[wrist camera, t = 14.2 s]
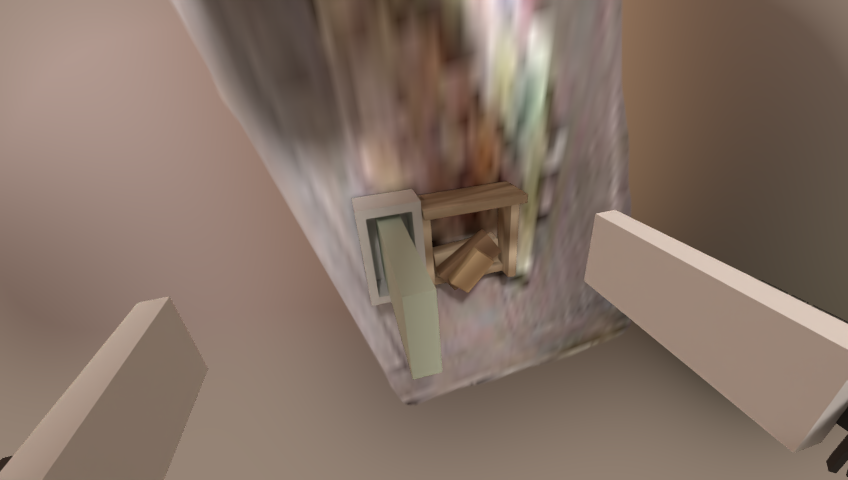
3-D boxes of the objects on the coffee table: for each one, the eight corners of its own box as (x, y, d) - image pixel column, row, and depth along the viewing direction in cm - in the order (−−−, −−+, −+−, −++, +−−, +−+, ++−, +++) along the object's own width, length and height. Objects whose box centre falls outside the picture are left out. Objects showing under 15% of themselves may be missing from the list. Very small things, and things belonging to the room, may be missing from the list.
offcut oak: (447, 277, 49) (450, 283, 48) (473, 245, 48) (477, 250, 47) (464, 287, 51) (468, 293, 49) (490, 256, 49) (494, 261, 48)
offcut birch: (429, 247, 51) (434, 255, 49) (490, 231, 53) (497, 238, 51) (433, 269, 53) (437, 277, 51) (491, 253, 55) (498, 261, 53)
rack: (413, 196, 47) (424, 211, 41) (506, 181, 49) (527, 194, 44) (421, 280, 53) (431, 302, 48) (503, 262, 56) (521, 282, 51)
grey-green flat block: (383, 273, 50) (412, 379, 33) (373, 210, 46) (401, 297, 28) (403, 269, 51) (442, 372, 33) (395, 207, 46) (436, 289, 29)
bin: (351, 198, 45) (354, 212, 40) (411, 188, 46) (420, 201, 42) (368, 286, 51) (371, 306, 47) (420, 275, 53) (428, 293, 48)
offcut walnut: (435, 268, 50) (439, 275, 49) (481, 228, 49) (487, 234, 48) (451, 283, 52) (455, 290, 51) (495, 245, 51) (501, 251, 50)
